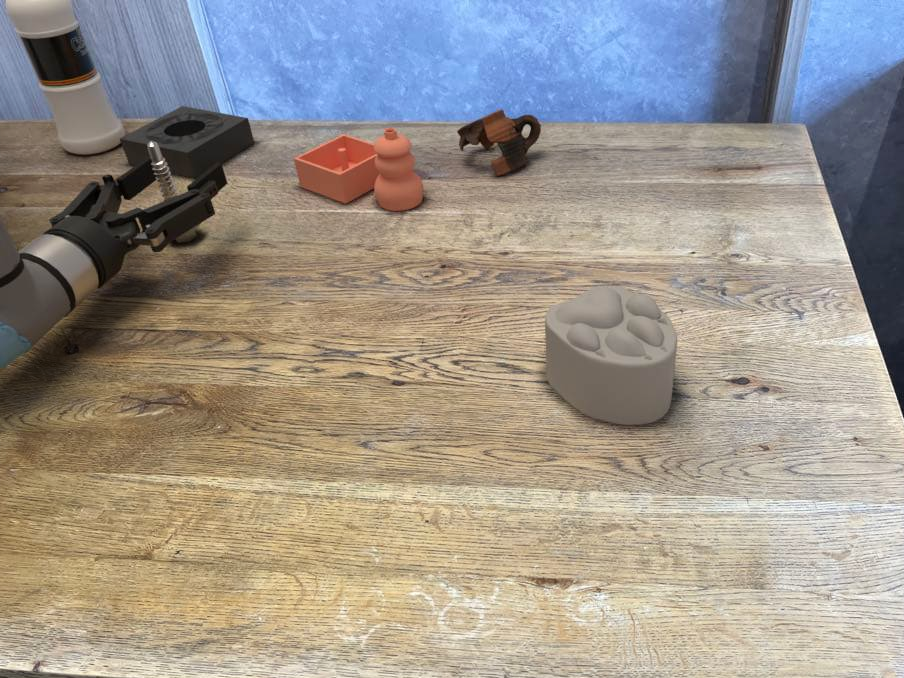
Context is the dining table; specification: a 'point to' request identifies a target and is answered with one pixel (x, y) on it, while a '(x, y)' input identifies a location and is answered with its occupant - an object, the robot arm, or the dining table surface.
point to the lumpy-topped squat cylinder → (612, 355)
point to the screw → (166, 183)
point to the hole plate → (190, 140)
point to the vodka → (66, 75)
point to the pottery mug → (502, 138)
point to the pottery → (363, 170)
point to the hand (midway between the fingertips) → (187, 169)
